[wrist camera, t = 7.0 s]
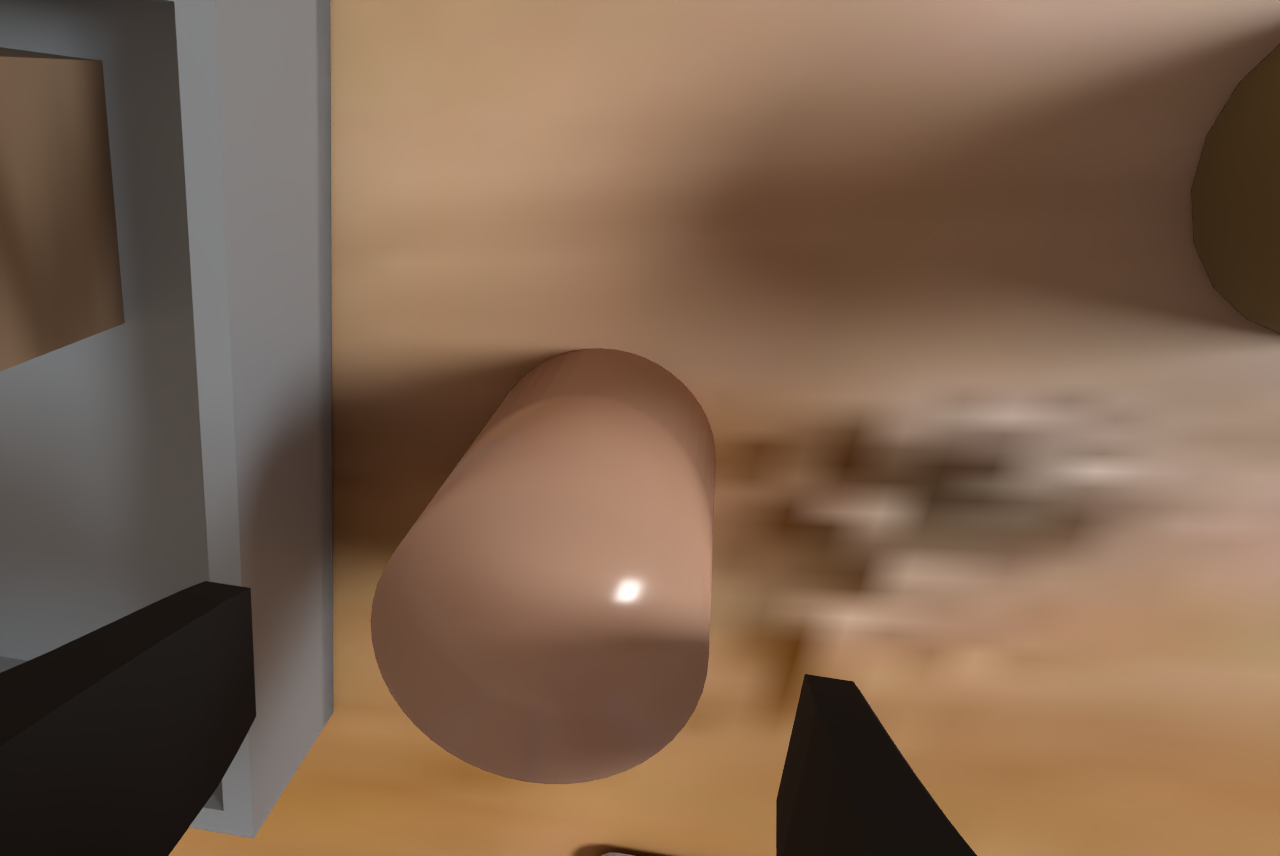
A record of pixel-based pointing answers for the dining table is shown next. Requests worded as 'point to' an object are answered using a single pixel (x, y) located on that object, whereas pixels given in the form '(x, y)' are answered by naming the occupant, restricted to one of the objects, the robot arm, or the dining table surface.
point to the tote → (192, 364)
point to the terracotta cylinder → (560, 577)
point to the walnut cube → (55, 206)
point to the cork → (1243, 197)
